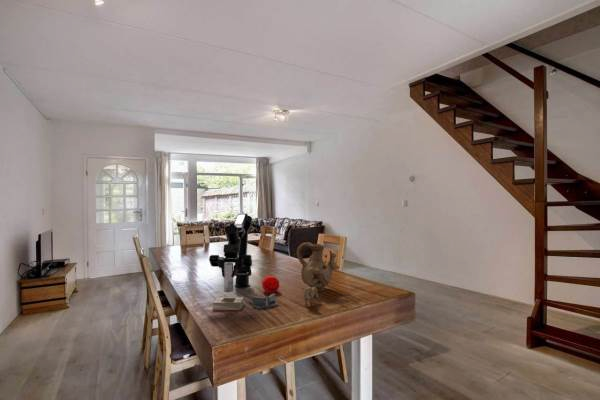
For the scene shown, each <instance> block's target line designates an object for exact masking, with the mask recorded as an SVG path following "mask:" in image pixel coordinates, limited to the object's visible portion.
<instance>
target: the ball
mask: <svg viewBox="0 0 600 400" xmlns="http://www.w3.org/2000/svg"><path fill="white" fill-rule="evenodd" d="M261 282H262V283H261V286H262V289H263V291H265V292H266V293H267V294H276V292H277V291H278V290H279V289H280V280H279V279H278V278H276V276H274V275H270V276H269V275H267V276H265V278H263V280H262V281H261Z"/></svg>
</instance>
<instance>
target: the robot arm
mask: <svg viewBox="0 0 600 400" xmlns="http://www.w3.org/2000/svg"><path fill="white" fill-rule="evenodd" d="M252 226H253V217H252V216H251V215H248V213H245V212H244V213H243V212H241V213H238V214H237V216H236V220H235V222H234V223H230V224H229V225H227V226H226V227H225V228H224V233H225V237H226V241H227V243H226V244H224V245H223V256H220V255H219V254H211V255H210V256H209V257H208V260H209V261H208V262H209V263H210V266H211V267H213V268H214V267H216V268H219V269H220V270H221V275H222V278H224V264H225V263H233V278H235V284H234V287H236V288H237V289H245V288H249V287H251V286H252V285H251V284H250V281H249V279H250V276H252V266H253V259H252V255H251V254H248V241H249V232H250V231H251V230H252Z"/></svg>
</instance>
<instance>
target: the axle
mask: <svg viewBox="0 0 600 400" xmlns="http://www.w3.org/2000/svg"><path fill="white" fill-rule="evenodd" d="M233 270H234V263H225V264H224V277H223V292H224V293H232V292H234V277H233Z"/></svg>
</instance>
